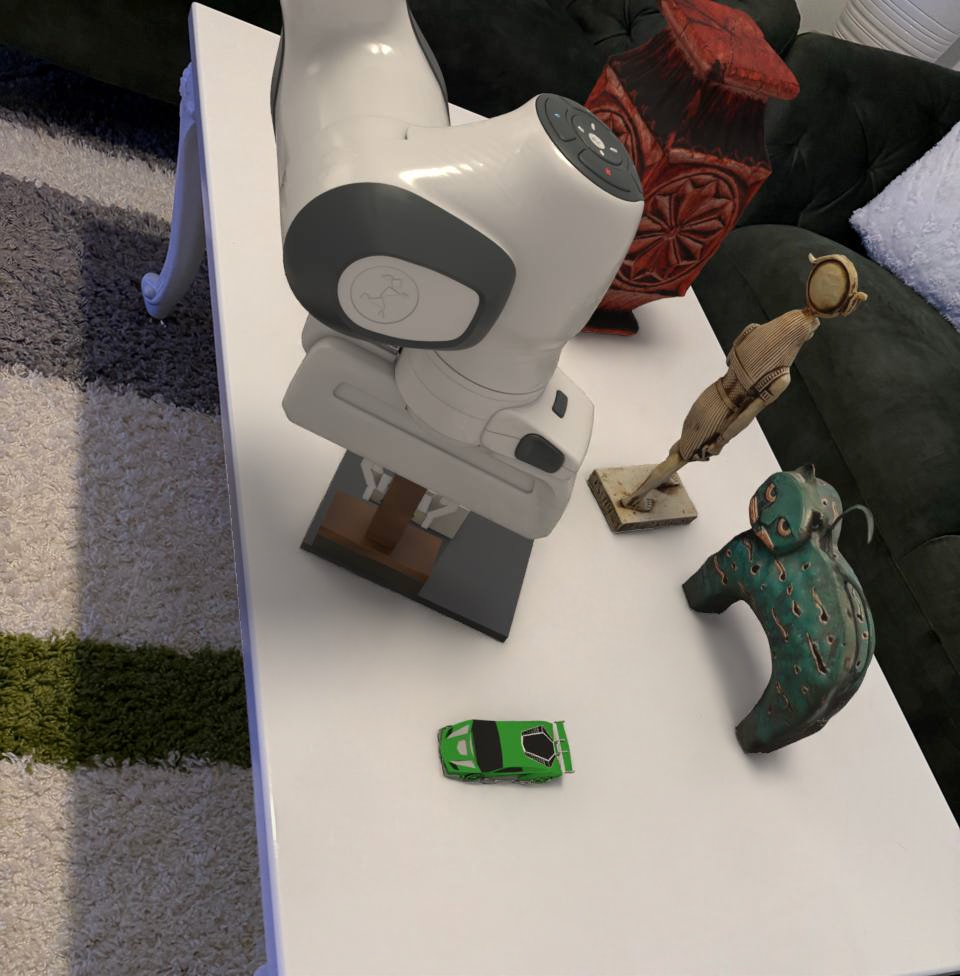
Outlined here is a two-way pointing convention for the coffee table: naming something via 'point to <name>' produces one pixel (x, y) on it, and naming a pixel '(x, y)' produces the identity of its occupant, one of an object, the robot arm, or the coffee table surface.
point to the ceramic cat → (794, 606)
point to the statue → (726, 404)
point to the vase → (687, 144)
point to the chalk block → (448, 520)
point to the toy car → (504, 751)
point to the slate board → (450, 562)
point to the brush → (380, 536)
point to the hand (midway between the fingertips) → (396, 508)
